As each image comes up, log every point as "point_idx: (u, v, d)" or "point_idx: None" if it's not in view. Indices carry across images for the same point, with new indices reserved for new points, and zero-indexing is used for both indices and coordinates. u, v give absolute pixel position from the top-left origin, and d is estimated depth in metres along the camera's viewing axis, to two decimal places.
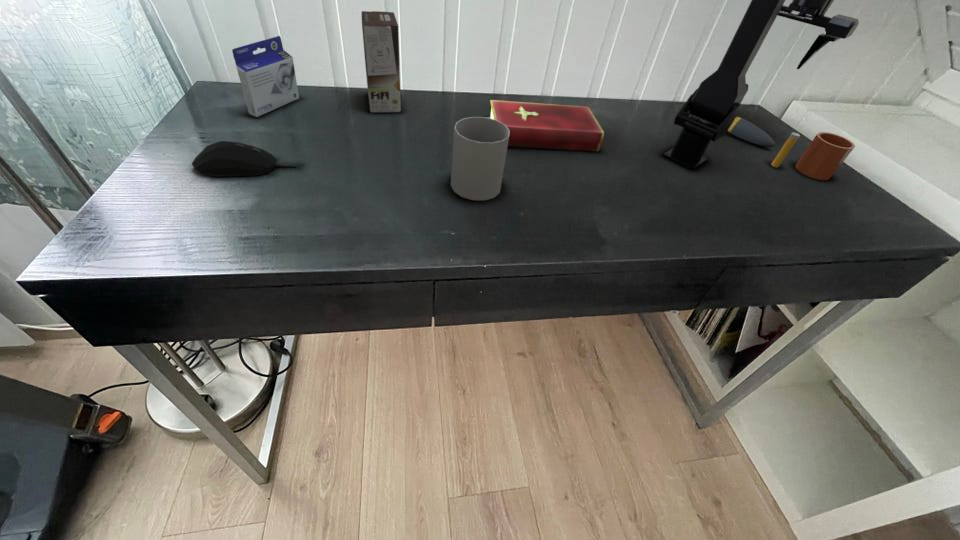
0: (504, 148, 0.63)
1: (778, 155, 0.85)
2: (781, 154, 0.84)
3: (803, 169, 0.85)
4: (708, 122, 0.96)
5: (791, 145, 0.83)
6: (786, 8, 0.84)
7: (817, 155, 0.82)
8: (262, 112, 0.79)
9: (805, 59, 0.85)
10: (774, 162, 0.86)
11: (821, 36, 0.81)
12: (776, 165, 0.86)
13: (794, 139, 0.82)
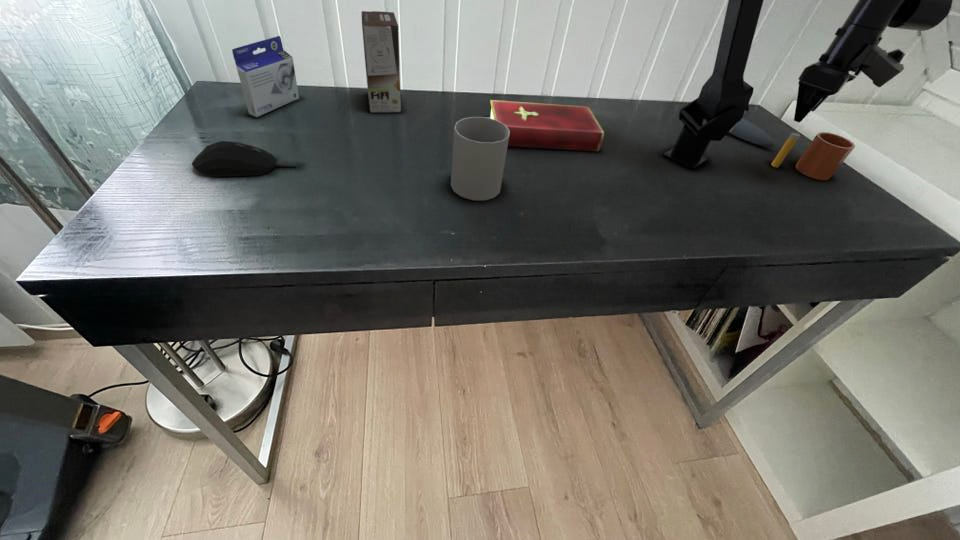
0: (504, 148, 0.63)
1: (778, 155, 0.85)
2: (781, 154, 0.84)
3: (803, 169, 0.85)
4: None
5: (791, 145, 0.83)
6: None
7: (817, 155, 0.82)
8: (262, 112, 0.79)
9: None
10: (774, 162, 0.86)
11: None
12: (776, 165, 0.86)
13: (794, 139, 0.82)
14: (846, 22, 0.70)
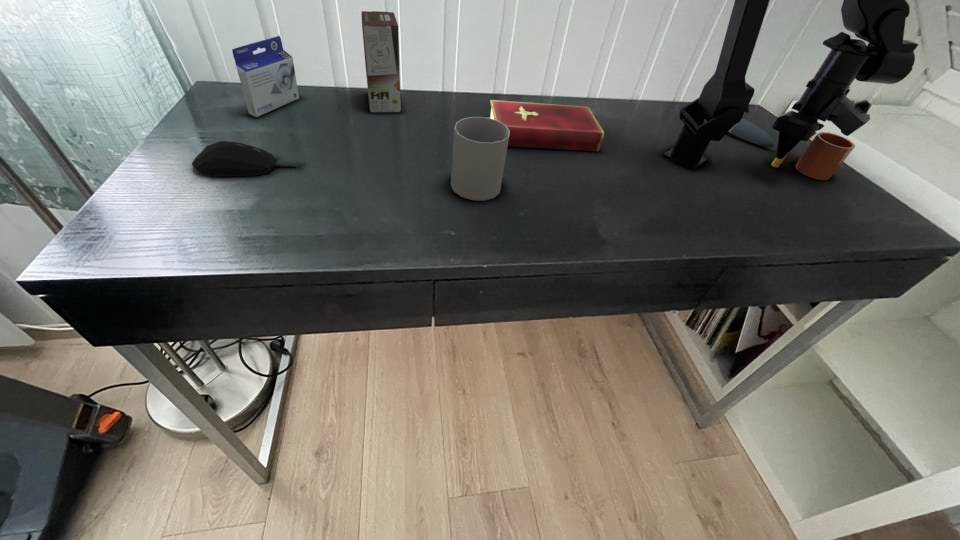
0: (504, 148, 0.63)
1: None
2: None
3: (803, 169, 0.85)
4: None
5: None
6: None
7: (817, 155, 0.82)
8: (262, 112, 0.79)
9: None
10: (774, 162, 0.86)
11: None
12: (776, 165, 0.86)
13: None
14: (816, 75, 0.75)
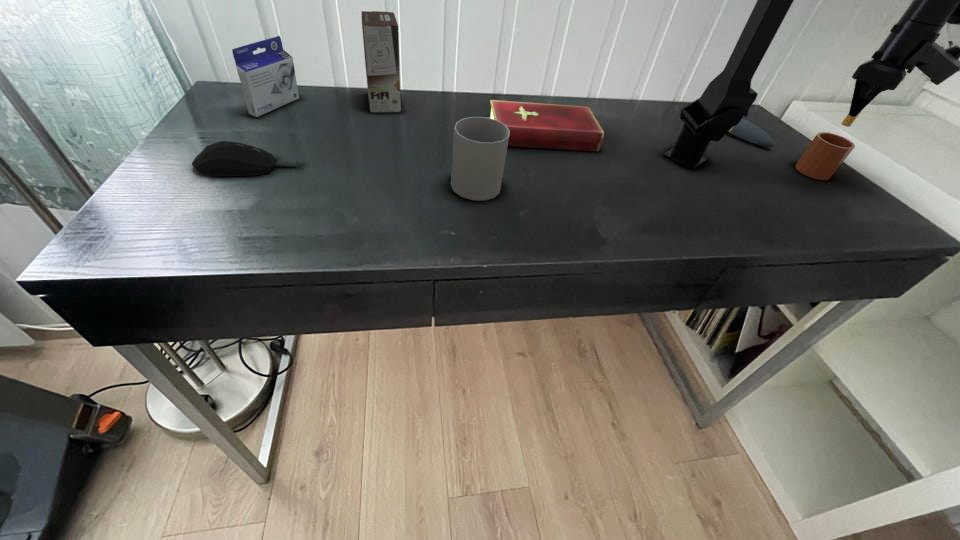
0: (504, 148, 0.63)
1: None
2: None
3: (803, 169, 0.85)
4: None
5: None
6: None
7: (817, 155, 0.82)
8: (262, 112, 0.79)
9: None
10: (845, 121, 0.79)
11: None
12: (848, 124, 0.79)
13: None
14: (902, 18, 0.68)
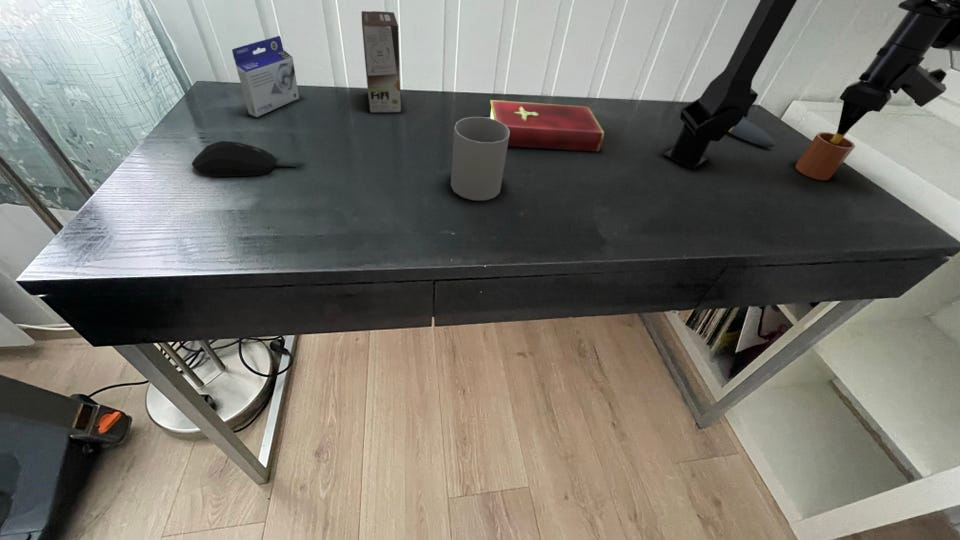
0: (504, 148, 0.63)
1: None
2: None
3: (803, 169, 0.85)
4: None
5: None
6: None
7: (817, 155, 0.82)
8: (262, 112, 0.79)
9: None
10: (834, 138, 0.81)
11: None
12: (836, 141, 0.81)
13: None
14: (888, 42, 0.70)
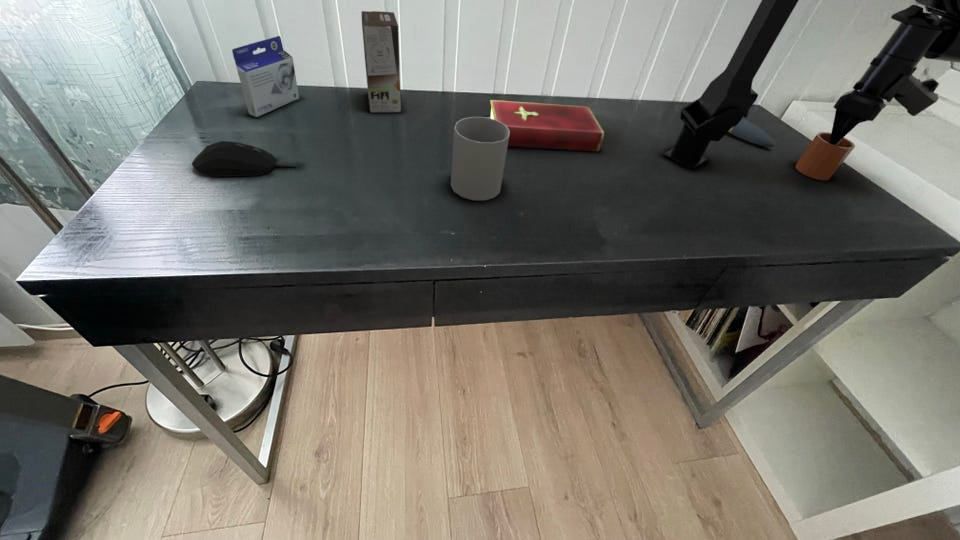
0: (504, 148, 0.63)
1: None
2: None
3: (803, 169, 0.85)
4: None
5: None
6: None
7: (817, 155, 0.82)
8: (262, 112, 0.79)
9: None
10: None
11: None
12: None
13: None
14: (881, 52, 0.71)
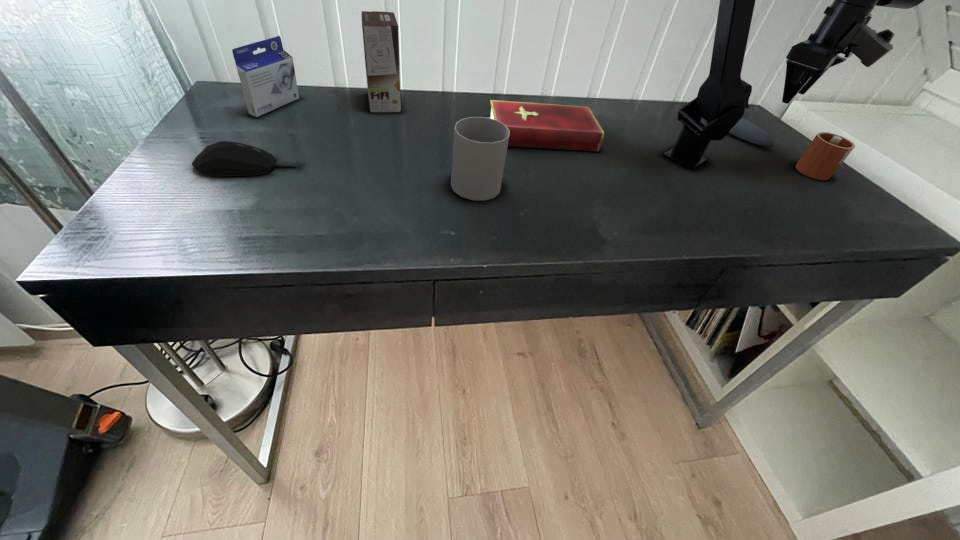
0: (504, 148, 0.63)
1: None
2: None
3: (803, 169, 0.85)
4: None
5: None
6: None
7: (817, 155, 0.82)
8: (262, 112, 0.79)
9: None
10: None
11: None
12: None
13: (836, 142, 0.81)
14: (835, 0, 0.69)
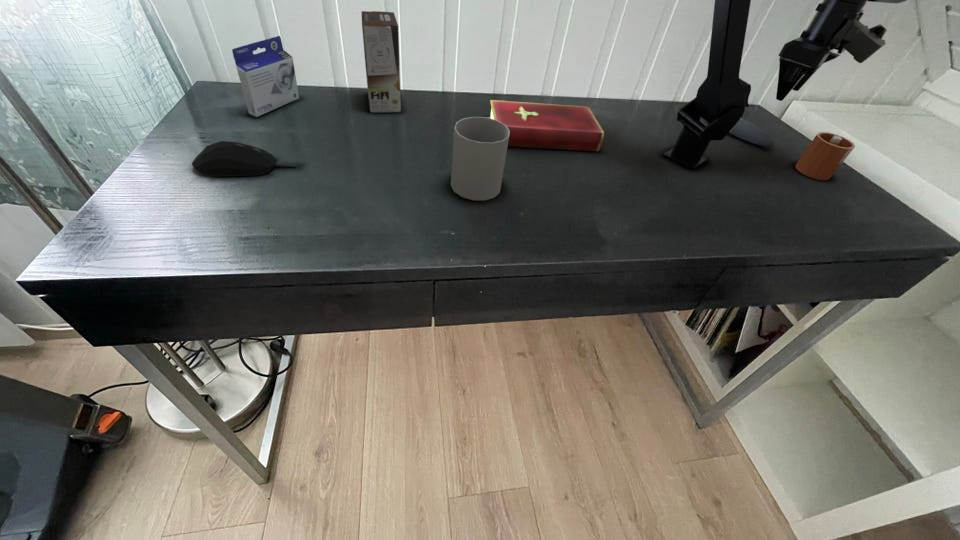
0: (504, 148, 0.63)
1: None
2: None
3: (803, 169, 0.85)
4: None
5: None
6: None
7: (817, 155, 0.82)
8: (262, 112, 0.79)
9: None
10: None
11: None
12: None
13: (836, 142, 0.81)
14: None
